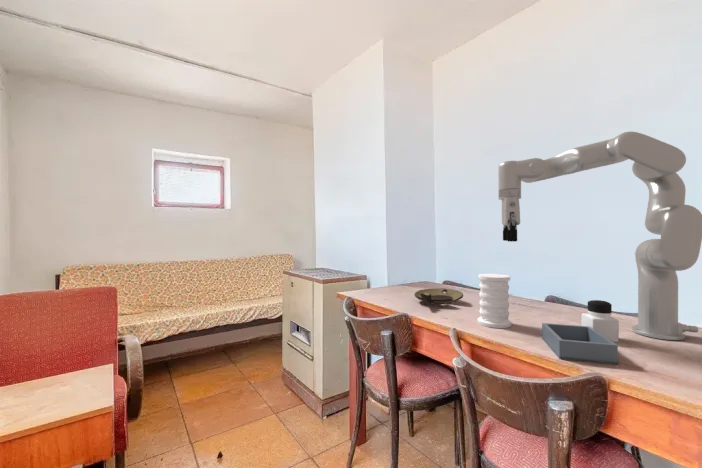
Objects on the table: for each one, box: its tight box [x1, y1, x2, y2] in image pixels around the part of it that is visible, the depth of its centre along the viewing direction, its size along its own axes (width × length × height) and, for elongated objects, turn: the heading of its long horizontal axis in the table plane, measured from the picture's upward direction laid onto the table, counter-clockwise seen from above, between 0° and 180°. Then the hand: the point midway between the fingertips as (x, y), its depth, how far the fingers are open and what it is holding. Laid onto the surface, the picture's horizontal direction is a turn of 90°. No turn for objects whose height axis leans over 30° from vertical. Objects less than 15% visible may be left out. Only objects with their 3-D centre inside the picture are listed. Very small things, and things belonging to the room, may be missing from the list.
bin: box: [541, 322, 619, 366], centre depth 91 cm, size 13×17×5 cm
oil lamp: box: [414, 287, 464, 306], centre depth 152 cm, size 22×30×8 cm
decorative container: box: [476, 273, 512, 329], centre depth 118 cm, size 12×12×18 cm
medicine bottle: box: [580, 299, 620, 344], centre depth 101 cm, size 7×7×12 cm
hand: (509, 240), depth 118 cm, fingers open, 9 cm apart
